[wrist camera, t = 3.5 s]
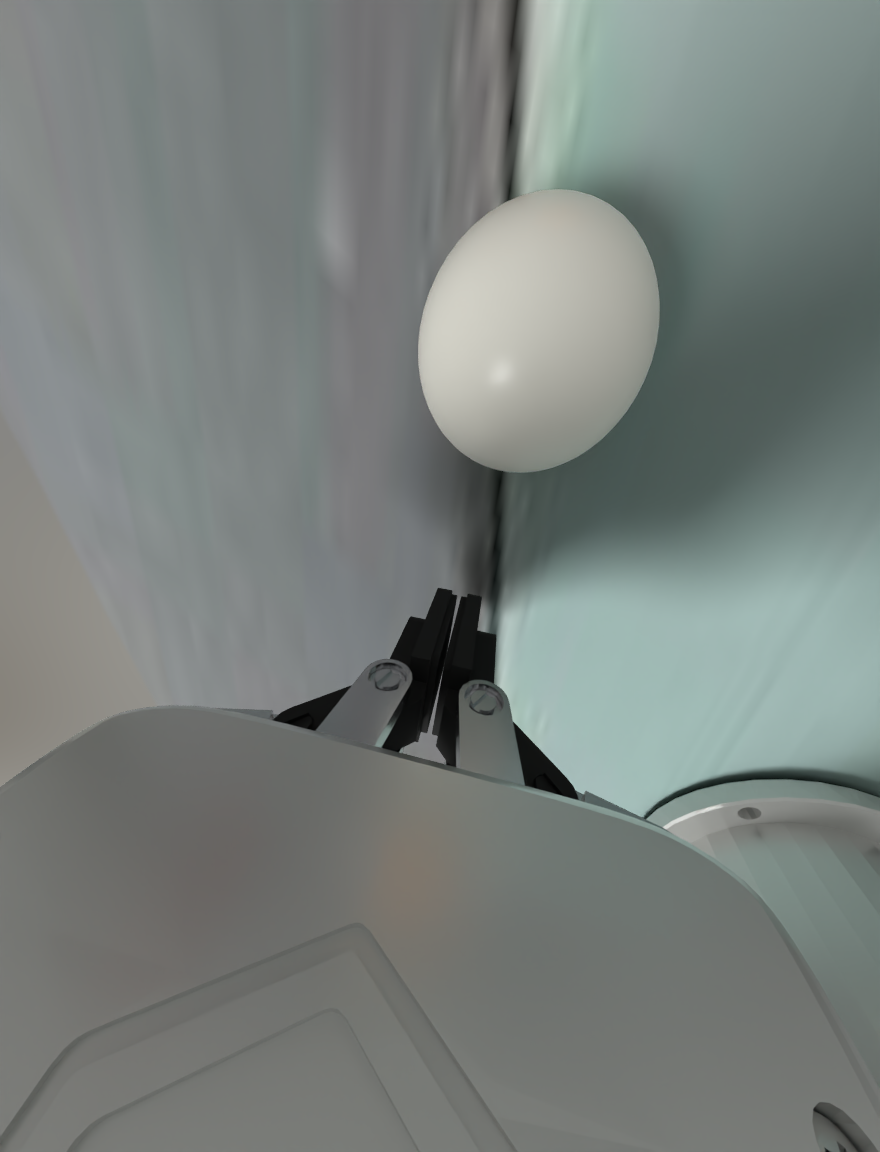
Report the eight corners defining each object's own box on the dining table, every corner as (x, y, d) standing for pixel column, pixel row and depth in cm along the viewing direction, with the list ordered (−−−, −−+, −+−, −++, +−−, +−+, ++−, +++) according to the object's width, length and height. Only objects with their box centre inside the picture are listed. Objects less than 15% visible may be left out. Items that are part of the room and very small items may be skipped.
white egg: (646, 400, 10) (761, 382, 6) (491, 489, 13) (475, 534, 8) (573, 206, 9) (641, -46, 4) (411, 345, 11) (329, 286, 6)
